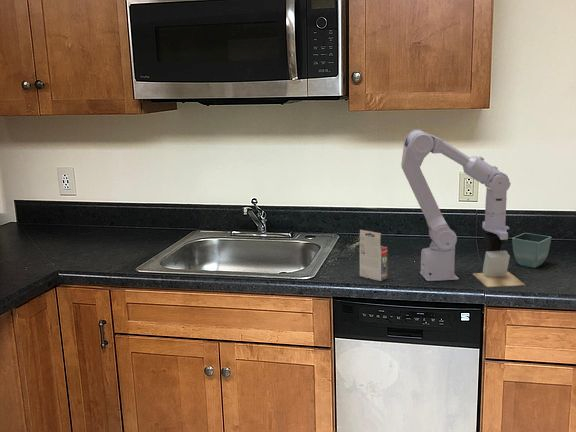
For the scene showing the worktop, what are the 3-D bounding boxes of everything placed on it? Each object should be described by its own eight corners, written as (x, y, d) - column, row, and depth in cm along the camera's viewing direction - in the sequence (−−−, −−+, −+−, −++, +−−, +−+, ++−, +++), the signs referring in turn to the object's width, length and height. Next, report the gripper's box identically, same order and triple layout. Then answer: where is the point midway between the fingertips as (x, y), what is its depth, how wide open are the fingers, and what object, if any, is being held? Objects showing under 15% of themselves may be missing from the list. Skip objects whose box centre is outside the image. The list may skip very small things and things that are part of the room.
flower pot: (509, 265, 203) (511, 237, 201) (523, 259, 209) (524, 232, 207) (537, 271, 197) (539, 242, 195) (550, 264, 203) (552, 236, 201)
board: (486, 287, 184) (487, 286, 184) (472, 274, 196) (472, 273, 196) (525, 285, 185) (525, 284, 185) (508, 272, 196) (508, 271, 196)
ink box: (366, 273, 199) (366, 226, 196) (388, 278, 194) (388, 230, 191) (359, 276, 197) (358, 229, 194) (380, 282, 191) (381, 233, 188)
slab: (485, 277, 192) (489, 257, 188) (482, 271, 195) (485, 251, 191) (505, 276, 192) (509, 256, 189) (502, 270, 195) (506, 250, 191)
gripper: (519, 217, 183) (516, 263, 186) (499, 206, 197) (497, 250, 200) (494, 218, 183) (492, 265, 186) (476, 207, 197) (474, 251, 200)
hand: (493, 257), depth 193 cm, fingers closed
